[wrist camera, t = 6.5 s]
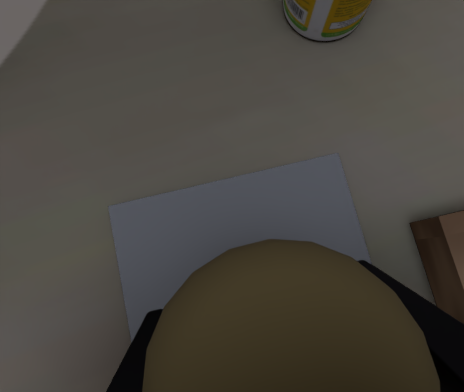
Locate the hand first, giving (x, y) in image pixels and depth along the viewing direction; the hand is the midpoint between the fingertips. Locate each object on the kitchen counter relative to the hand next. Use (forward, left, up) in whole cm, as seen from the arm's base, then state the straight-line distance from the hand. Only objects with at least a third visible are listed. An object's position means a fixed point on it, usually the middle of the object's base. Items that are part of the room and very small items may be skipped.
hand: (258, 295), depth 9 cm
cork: (-1, 0, -7) cm, 7 cm away
